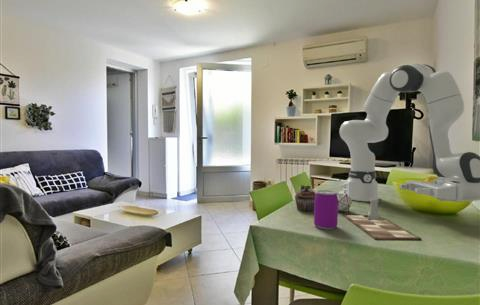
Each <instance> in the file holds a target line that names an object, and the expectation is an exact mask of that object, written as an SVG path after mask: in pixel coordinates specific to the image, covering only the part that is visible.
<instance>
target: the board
mask: <svg viewBox="0 0 480 305" xmlns="http://www.w3.org/2000/svg"><path fill="white" fill-rule="evenodd" d="M342 216H343V218H345V219H346V220H348V222H349V221H350V223H352V224H353V225H355V226H356V227H358V228H359V229H360V230H361V231H363V232H364V233H365V234H367V235H368V236H370V237H371V238H372V239H374V240H376V241H381V240H382V241H383V240H385V241H387V240H388V241H422V237H420V236H418V235H416V234H414V233H412V231H409V230H407V229H405V228H403V227H402V226H400V225H398V224H396V223H395V222H392V221H391V220H389V219H387V218H385V217H383V216H381V215H380V217H379V218H380V220H369V219H368V218H367V217H368V214H343V215H342Z"/></svg>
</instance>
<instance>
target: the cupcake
mask: <svg viewBox="0 0 480 305" xmlns="http://www.w3.org/2000/svg"><path fill="white" fill-rule="evenodd" d="M316 193H317V192H315V191H314V189H313V188H312V187H311V185H300V186H299V188H298V190H297V191H296V194H295V196H294V200H295V205H296V209H297V210H298V211H300V212H307V213H312V212H313V213H314V204H315V196H316Z"/></svg>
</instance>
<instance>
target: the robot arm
mask: <svg viewBox="0 0 480 305" xmlns="http://www.w3.org/2000/svg"><path fill="white" fill-rule="evenodd" d="M415 92H421V93H422V94H423V96H424V98H425V101H426V105H427V108H428V114H429V120H428V134H429V139H430V145H431V149H432V150H431V151H432V170H433V172H434V174H435V175H436V178H435V179H434V180H433V181H432V182H431V181H430V182H429V181H425V180H406V181H405V183H404V184H403V183H401V184H399V189H400V190H407V191H410V192H414V193H415V194H418V195H420V194H421V195H425V196H429V197H432V198H436V199H437V200H439V201H440V202H454V203H455V202H456V203H457V202H458V203H461V202H462V201H464V202H473V201H474V202H475V201H480V155H478V154H477V153H475V152H472V151H468V152H467V151H466V152H458V153H454V154H453V153H452V151H451V145H450V141H449V140H450V139H449V130H450V128H451V127H452V126H453V124H454V123H456V122H457V121H458V120H459V118H461V117H462V116H463V113H464V112H465V104H464V102H465V101H464V100H463V97H462V93H461V90H460V88H459V86H458V84H457V82H456V79H455V78H454V76H453V75H452V73H450V72H449V71H445V70H439V71H436V69H435V68H434V67H433V66H431V65H429V64H419V63H414V64H404V65H400V66H397V67H396V68H395V69H394V70H393V71H385V72H383V73H382V74H381V75H380V76H379V78H378V79H377V80H376V81H375V84H374V85H373V86H372V88H371V91H370V93H369V94H368V97H367V98H366V100H365V103H364V104H363V109H364V111H365V113H366V117H365V119H364V120H363V119H362V120H361V119H352V120H347V121H344V122H343V123H341V125H340V128H339V132H338V133H339V136H340V138H341V140H342V141H344V143H346V145H347V147H348V150H349V152H350V153H349V154H350V170H349V173H348V178H347V179H346V180H345V181H344V182H343V183H342V184H341V189H342V190H340V191H338V193H344V192H346V193H345V194H348V195H347V196H348V197H350V198H351V199H352V200H355V201H356V202H357V201H358V202H370V199H371V197H373V199H374V198H375V199H376V198H378V200H381V198H382V197H381V196H379V184H378V182H377V181H376V175H377V172H376V168H375V167H376V155H375V153H374V152H373V151H371V150H370V148H369V143H372V144H374V143H378V142H382V141H385V140H386V139H387V138H388V136H389V127H388V125H387V117H388V115H389V112H390V111H391V109H392V107H393V105H394V103H395V101H396V100H397V98H398V96H399V94H400V93H415Z"/></svg>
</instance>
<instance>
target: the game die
mask: <svg viewBox="0 0 480 305" xmlns="http://www.w3.org/2000/svg"><path fill="white" fill-rule="evenodd" d="M345 193H346V192H344V193H339V192H338V193H336V194H337V197H338V213H340V212H342V211H343V212H346V211H347V212H349V213H350V210H349V209H350V208H351V205H352V203H353V202H355V201H356V200H352V199H351V198H350V197H348V196H347V195H348V194H345Z"/></svg>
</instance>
